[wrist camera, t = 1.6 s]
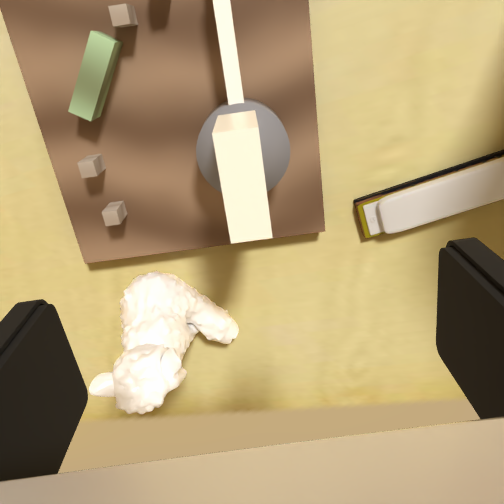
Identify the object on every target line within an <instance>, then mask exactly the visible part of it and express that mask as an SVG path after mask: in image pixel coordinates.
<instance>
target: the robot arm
mask: <svg viewBox="0 0 504 504" xmlns="http://www.w3.org/2000/svg"><path fill="white" fill-rule="evenodd" d="M436 346H437V350H438V353H439V355H440V357H441V359H442V360H443V362H444V363H445V365H446V366H447V368H448V370H449V371H450V373H451V374H452V376H453V377H454V379H455V380H456V382H457V383H458V385H459V386H460V388H461V390H462V391H463V393H464V394H465V396H466V397H467V399H468V400H469V402H470V403H471V405H472V406H473V408H474V410H475V411H476V412H477V414H478V416H479V417H480V420H472V421H464V422H457V423H456V422H455V423H447V424H439V425H431V426H423V427H415V428H407V429H398V430H390V431H382V432H374V433H366V434H358V435H351V436H343V437H336V438H327V439H320V440H311V441H303V442H295V443H287V444H279V445H271V446H264V447H256V448H248V449H241V450H232V451H225V452H218V453H210V454H202V455H195V456H187V457H179V458H171V459H164V460H157V461H149V462H141V463H133V464H126V465H118V466H110V467H103V468H95V469H88V470H81V471H74V472H67V473H59V474H57V473H58V471H59V469H60V466H61V464H62V461H63V459H64V457H65V454H66V452H67V449H68V447H69V445H70V442H71V440H72V437H73V435H74V433H75V431H76V428H77V426H78V423H79V421H80V419H81V416H82V414H83V412H84V409H85V407H86V404H87V400H88V393H87V388H86V385H85V383H84V380H83V378H82V375H81V373H80V370H79V367H78V365H77V362H76V360H75V357H74V354H73V352H72V349H71V347H70V344H69V342H68V339H67V336H66V334H65V331H64V329H63V326H62V324H61V321H60V318H59V316H58V313H57V311H56V308H55V307H54V306H53V305H52V304H48V303H47V302H46V301H45V300H43V299H41V300H34V301H27V302H20V303H17V304H16V305H15V306H14V307H13V308H12V309H11V310H10V311H9V313H8V314H7V315H6V316H5V317H4V318H3V320H2V321H1V322H0V504H504V260H503V259H501V258H500V257H499V256H498V255H497V254H495V253H494V252H493V251H492V250H490V249H489V248H488V247H487V246H485V245H484V244H483V243H482V242H480V241H479V240H478V239H476V238H467V239H460V240H453V241H449V242H448V243H447V245H446V248H441V249H440V252H439V268H438V297H437V327H436Z"/></svg>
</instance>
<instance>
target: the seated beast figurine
mask: <svg viewBox="0 0 504 504" xmlns="http://www.w3.org/2000/svg"><path fill="white" fill-rule="evenodd" d="M120 305H121V307H120V310H121V315H120V319H121V322H122V324H121V327H122V329H123V334H122V335H121V339H122V347H123V348H124V352H123V354H122V355H121V356H120V357H119V358H118V359H117V360H116V361H115V363H114V366H113V372H107V373H100V374H98V375H97V376H96V377H95V378H94V379H93V381H92V382H91V385H90V387H89V392H90V394H91V395H95V396H100V397H116V402H117V403H116V408H118V409H121V410H125V411H126V413H128V414H131V413H134V412H138V413H139V414H144V413H146V412H151V411H153V409H154V408H155V407H156V408H159V407H160V406H161V405H162V404H163V402H164V398H165V396H166V394H167V393H168V392H170V391H171V390H173V389H175V388H177V387H178V386H179V385H180V383H181V382H182V380H183V379H185V377H186V375H187V372H186V370H185V369H184V368H182V366H181V365H182V362H181V361H182V359H183V355H185V352H186V350H187V348H189V346H190V342H191V341H193V338H194V337H195V334H197V333H198V332H199V331H200V332H201V333H202V334H203V335H205V336H206V338H207V339H208V340H214V341H216V342H220V343H223V344H229V343H231V341H232V339H233V338H234V339H235V338H236V336H237V334H238V332H239V327H238V325H237V323H236V322H235V321H234V319H233V318H231V317H230V316H229V314H228V310H224V309H223V308H222V307H219V306H216V304H215V302H212V301H211V300H210V299H209V298H208V297H207V296H205V295H202V294H200V293H198V292H197V290H196V289H195V288H193V287H191V286H189V285H187V284H186V283H185V282H184V281H182V280H181V279H180V278H179V277H176V276H175V275H174V274H170V273H161V272H158V271H154V272H152V273H147V274H144V275H138V276H137V277H136V278H133V280H132V282H131V284H130V285H129V286H128V287H127V288H126V290H124V297H123V298H122V299H121V300H120Z"/></svg>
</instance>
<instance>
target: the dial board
mask: <svg viewBox="0 0 504 504" xmlns="http://www.w3.org/2000/svg"><path fill="white" fill-rule="evenodd" d="M230 3H231V10H232V18H233V25H234V32H235V39H236V47H237V54H238V61H239V68H240V76H241V83H242V90H243V97H244V98H251V99H255V100H258V101H260V102H262V103H264V104H266V105H267V106H269V107H270V108H271V109H272V110H273V111H274V112H275V113H276V114H277V115H278V117H279V119H280V120H281V122H282V124H283V126H284V128H285V130H286V133H287V135H288V138H289V142H290V160H289V165H288V167H287V170H286V172H285V174H284V176H283V177H282V179H281V180H280V181H279V182H278V184H277V185H276V186H274V187H273V188H272V189H271V190H269V191H268V192H267V198H268V206H269V214H270V221H271V229H272V237H273V238H279V237H287V236H294V235H302V234H309V233H316V232H324V231H325V221H324V208H323V194H322V180H321V167H320V153H319V139H318V125H317V112H316V98H315V84H314V71H313V57H312V43H311V29H310V16H309V2H308V0H230ZM0 9H1V12H2V15H3V18H4V21H5V24H6V27H7V30H8V33H9V36H10V39H11V42H12V45H13V48H14V51H15V54H16V57H17V60H18V63H19V66H20V69H21V72H22V75H23V78H24V81H25V84H26V87H27V90H28V93H29V96H30V99H31V102H32V105H33V108H34V111H35V114H36V117H37V120H38V123H39V126H40V129H41V132H42V135H43V138H44V142H45V145H46V148H47V151H48V154H49V157H50V160H51V163H52V166H53V169H54V172H55V175H56V178H57V181H58V184H59V187H60V190H61V193H62V196H63V199H64V202H65V205H66V208H67V211H68V214H69V217H70V220H71V223H72V226H73V229H74V232H75V235H76V238H77V241H78V244H79V247H80V250H81V253H82V256H83V259H84V262H85V263H93V262H100V261H108V260H115V259H123V258H130V257H137V256H145V255H152V254H160V253H167V252H175V251H182V250H190V249H197V248H205V247H212V246H220V245H227V244H231V241H230V235H229V229H228V224H227V218H226V212H225V206H224V200H223V195H222V193H221V192H219V191H218V190H216V189H215V188H213V187H212V186H211V185H210V184H209V183H208V182H207V181H206V179H205V178H204V176H203V175H202V173H201V171H200V168H199V166H198V162H197V157H196V145H197V140H198V136H199V133H200V131H201V129H202V127H203V125H204V122H205V120H206V119H207V117H208V115H209V114H210V113H211V112H212V111H213V110H214V109H215V108H216V107H217V106H219V105H220V104H222V103H223V102H225V101H228V98H227V91H226V84H225V78H224V71H223V65H222V58H221V52H220V45H219V39H218V32H217V25H216V19H215V12H214V6H213V0H0ZM269 239H272V238H269ZM262 240H264V239H262ZM254 241H257V240H254ZM247 242H249V241H247ZM239 243H242V242H239ZM232 244H234V243H232Z"/></svg>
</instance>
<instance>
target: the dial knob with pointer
mask: <svg viewBox="0 0 504 504" xmlns="http://www.w3.org/2000/svg"><path fill="white" fill-rule="evenodd" d="M213 6H214V12H215V19H216V25H217V32H218V39H219V45H220V52H221V58H222V65H223V71H224V78H225V84H226V91H227V98H228V101H225V102H223V103H222V104H220V105H219V106H217V107H216V108H215V109H214V110H213V111H212V112H211V113H210V114H209V115H208V117H207V119H206V120H205V122H204V125H203V127H202V129H201V131H200V133H199V136H198V140H197V145H196V157H197V162H198V166H199V168H200V171H201V173H202V175H203V176H204V178H205V179H206V181H207V182H208V183H209V184H210V185H211V186H212V187H213V188H215V189H216V190H218V191H219V192H221V193H222V195H223V200H224V206H225V212H226V218H227V224H228V229H229V235H230V241H231V244H232V243H239V242H247V241H254V240H262V239H269V238H273V237H272V229H271V221H270V214H269V206H268V198H267V192H268V191H269V190H271V189H272V188H273V187H274V186H276V185H277V184H278V182H279V181H280V180H281V179H282V177H283V176H284V174H285V172H286V170H287V167H288V165H289V160H290V142H289V138H288V135H287V133H286V130H285V128H284V126H283V124H282V122H281V120H280V119H279V117H278V115H277V114H276V113H275V112H274V111H273V110H272V109H271V108H270V107H269V106H267V105H266V104H264V103H262V102H260V101H258V100H255V99H251V98H244V97H243V90H242V83H241V76H240V68H239V61H238V54H237V47H236V39H235V32H234V25H233V18H232V10H231V3H230V0H213Z"/></svg>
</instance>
